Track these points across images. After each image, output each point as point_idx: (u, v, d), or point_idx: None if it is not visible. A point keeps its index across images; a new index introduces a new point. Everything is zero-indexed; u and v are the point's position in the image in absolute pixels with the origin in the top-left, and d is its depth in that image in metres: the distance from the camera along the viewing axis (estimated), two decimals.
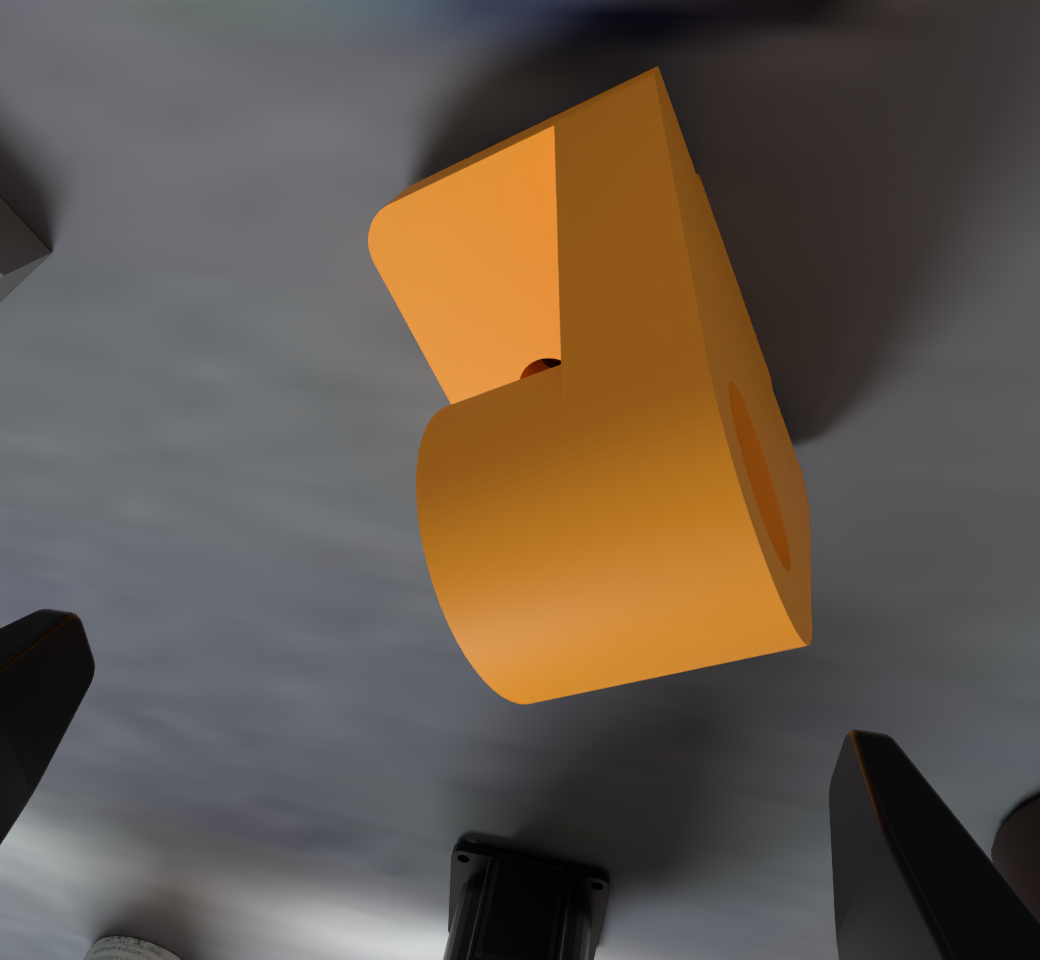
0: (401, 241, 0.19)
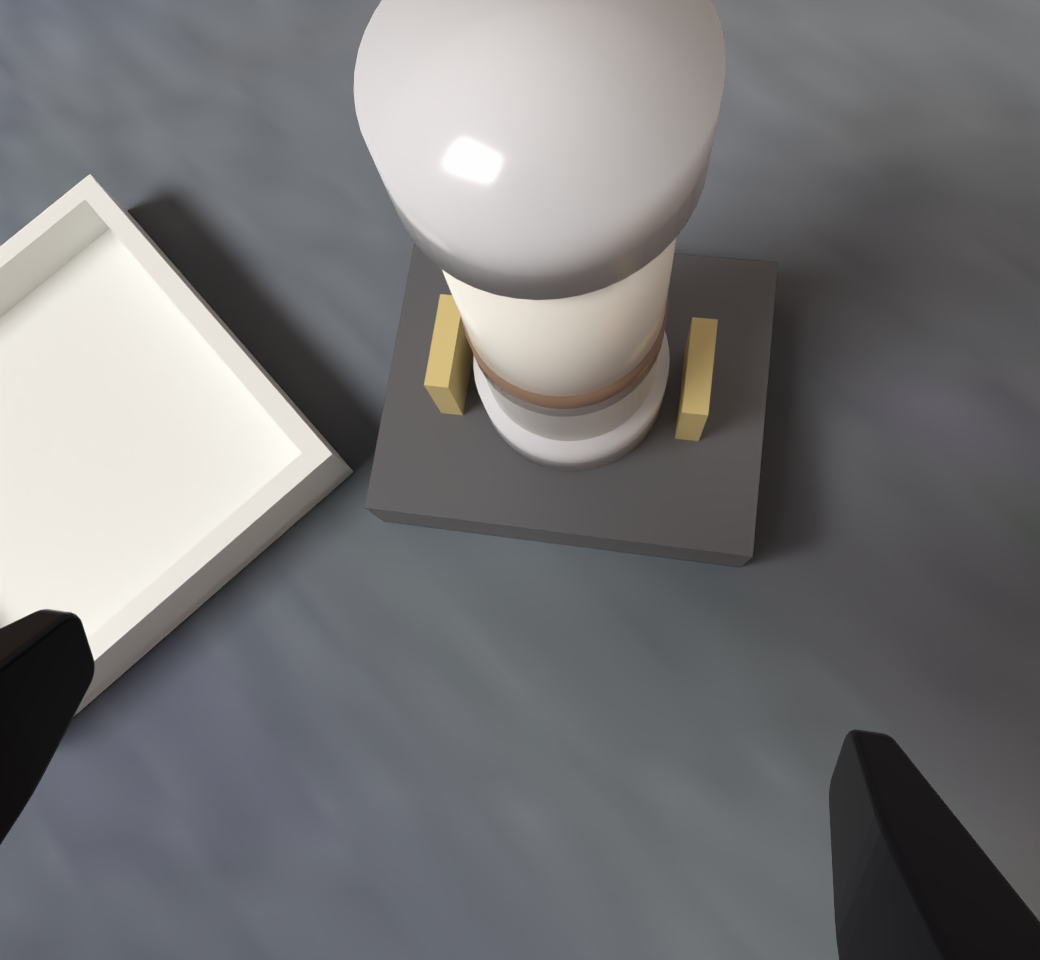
0: None
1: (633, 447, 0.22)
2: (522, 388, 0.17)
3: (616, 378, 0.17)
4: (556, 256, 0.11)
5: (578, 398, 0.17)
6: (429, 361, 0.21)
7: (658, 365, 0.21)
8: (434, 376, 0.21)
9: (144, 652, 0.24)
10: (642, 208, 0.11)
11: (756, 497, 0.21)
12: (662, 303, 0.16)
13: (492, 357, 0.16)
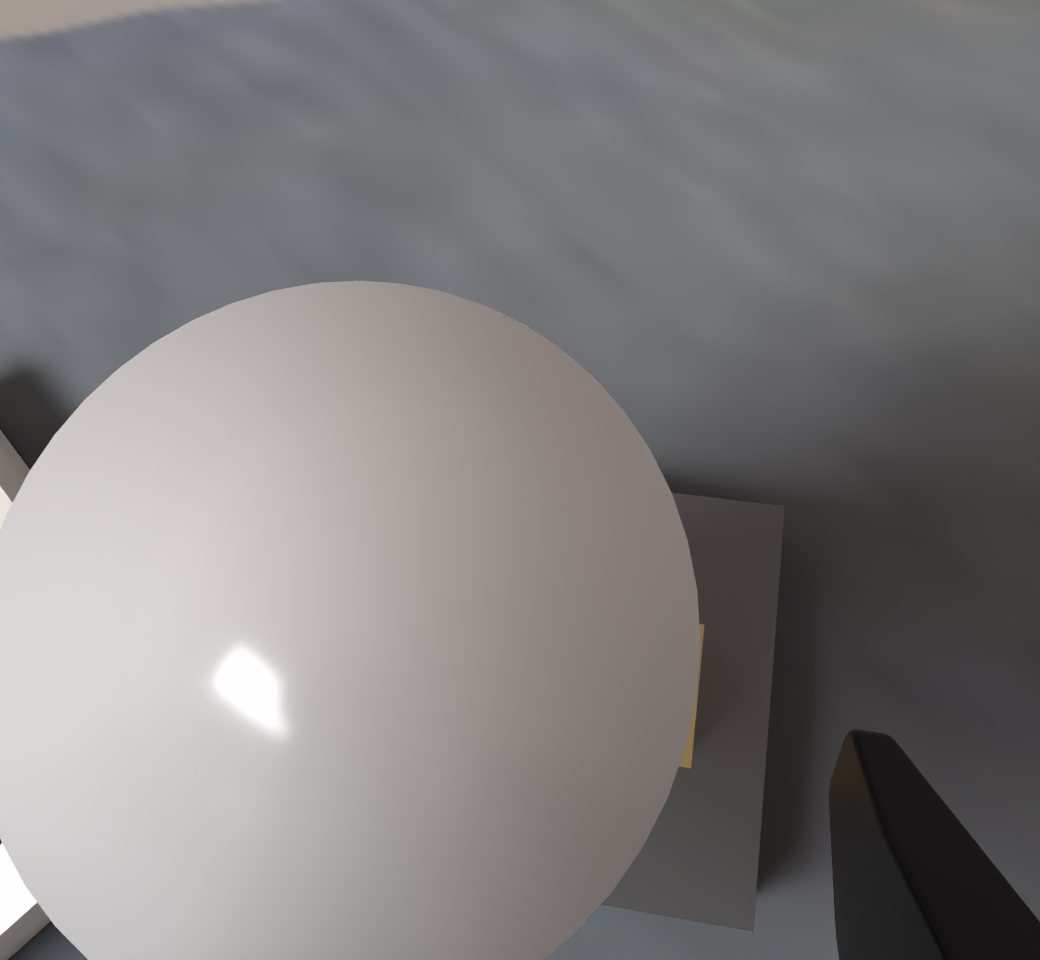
0: None
1: None
2: None
3: None
4: None
5: None
6: None
7: None
8: None
9: None
10: None
11: (758, 843, 0.16)
12: None
13: None
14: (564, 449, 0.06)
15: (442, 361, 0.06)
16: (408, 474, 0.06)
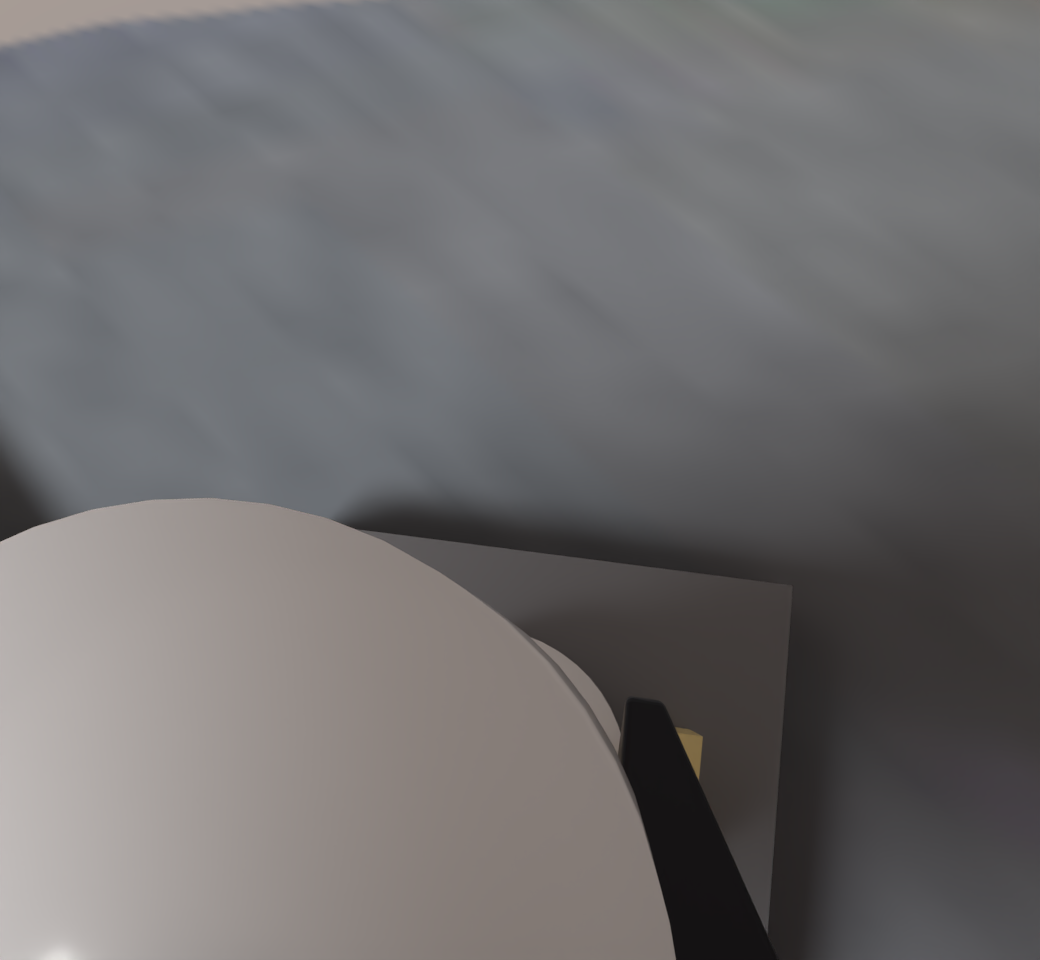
0: None
1: None
2: None
3: None
4: None
5: None
6: None
7: None
8: None
9: None
10: None
11: None
12: None
13: None
14: (493, 767, 0.04)
15: (321, 623, 0.04)
16: (268, 799, 0.04)
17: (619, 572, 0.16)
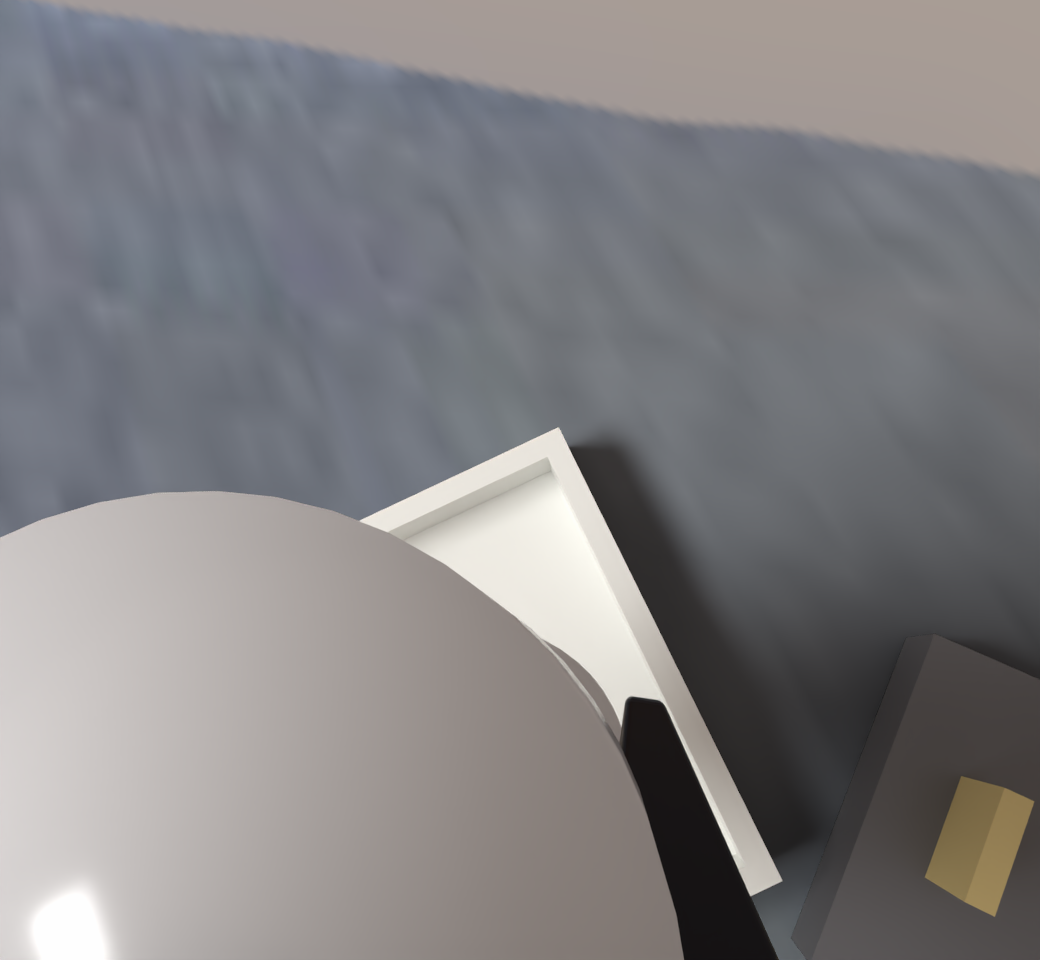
0: None
1: None
2: None
3: None
4: None
5: None
6: (977, 874, 0.17)
7: None
8: (979, 895, 0.17)
9: None
10: None
11: None
12: None
13: None
14: (500, 759, 0.04)
15: (328, 617, 0.04)
16: (275, 791, 0.04)
17: None
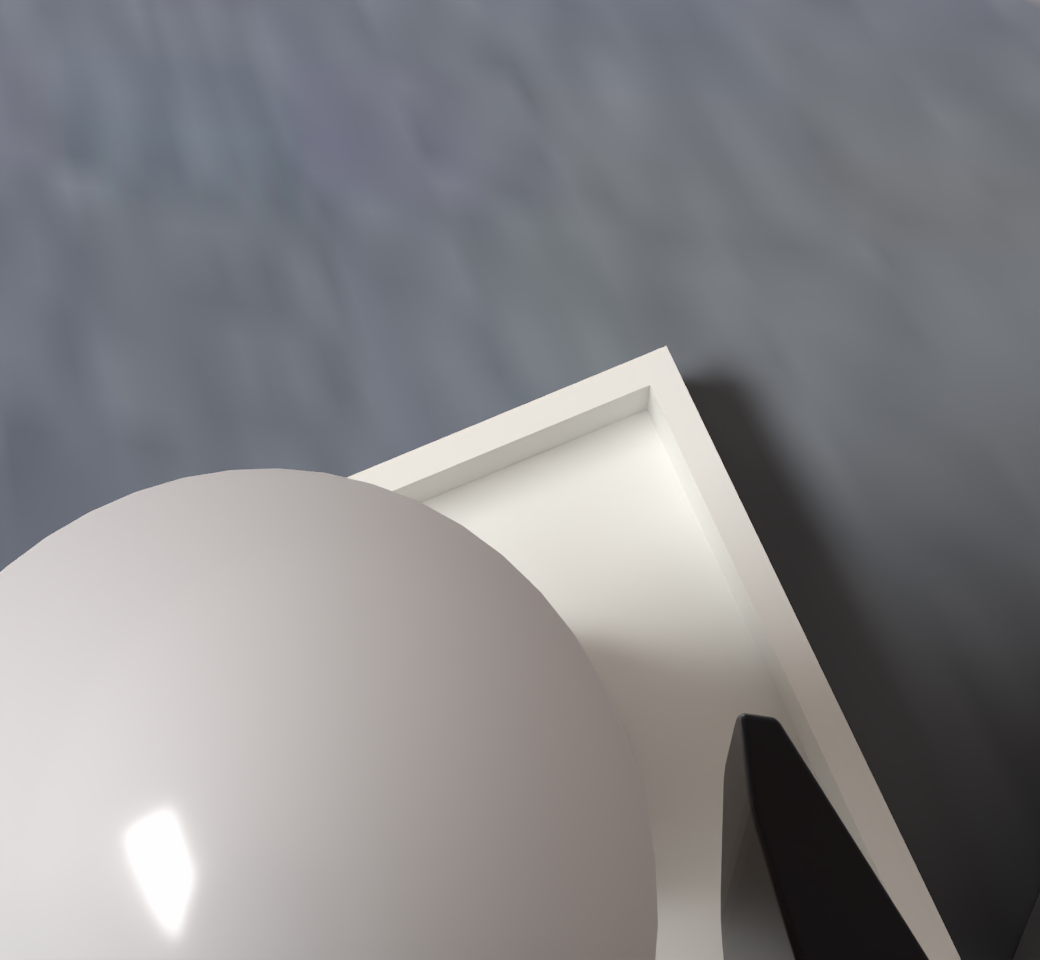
0: None
1: None
2: None
3: None
4: None
5: None
6: None
7: None
8: None
9: None
10: None
11: None
12: None
13: None
14: (504, 676, 0.05)
15: (368, 566, 0.05)
16: (325, 703, 0.05)
17: None
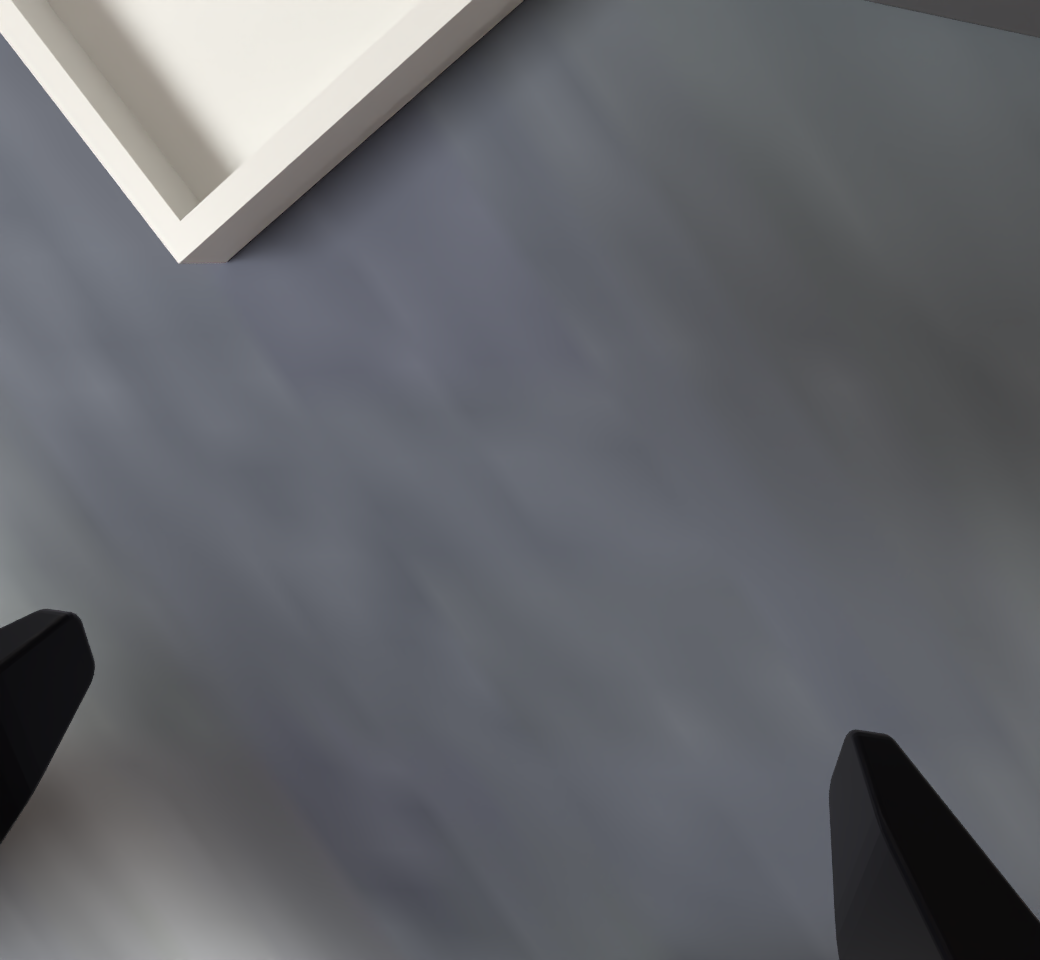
0: None
1: None
2: None
3: None
4: None
5: None
6: None
7: None
8: None
9: (362, 139, 0.18)
10: None
11: None
12: None
13: None
14: None
15: None
16: None
17: None
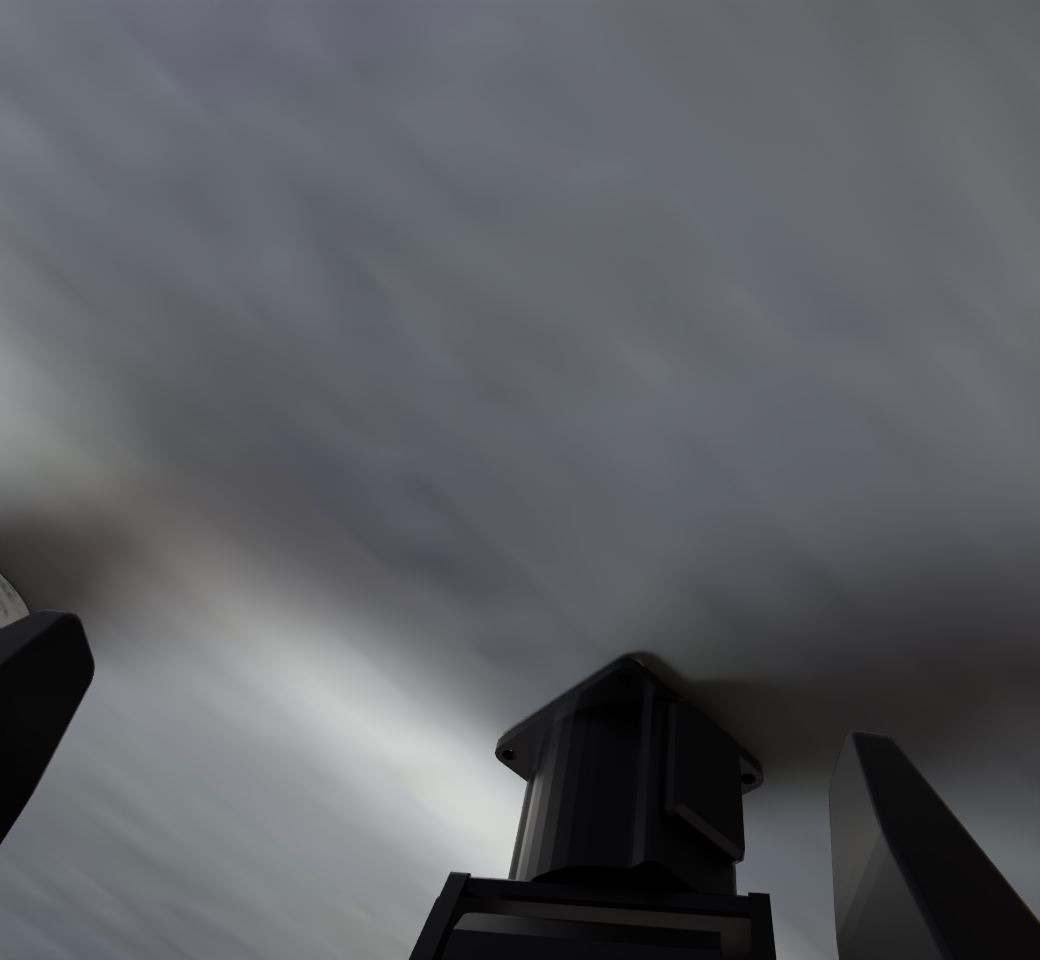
0: None
1: None
2: None
3: None
4: None
5: None
6: None
7: None
8: None
9: None
10: None
11: None
12: None
13: None
14: None
15: None
16: None
17: None
